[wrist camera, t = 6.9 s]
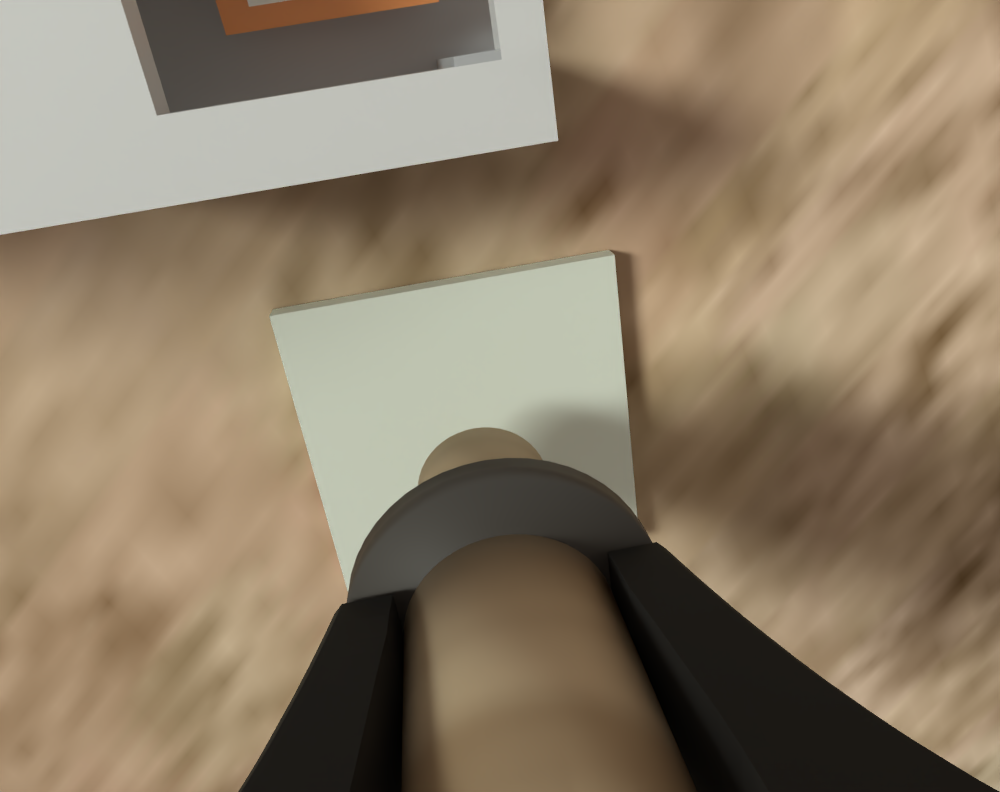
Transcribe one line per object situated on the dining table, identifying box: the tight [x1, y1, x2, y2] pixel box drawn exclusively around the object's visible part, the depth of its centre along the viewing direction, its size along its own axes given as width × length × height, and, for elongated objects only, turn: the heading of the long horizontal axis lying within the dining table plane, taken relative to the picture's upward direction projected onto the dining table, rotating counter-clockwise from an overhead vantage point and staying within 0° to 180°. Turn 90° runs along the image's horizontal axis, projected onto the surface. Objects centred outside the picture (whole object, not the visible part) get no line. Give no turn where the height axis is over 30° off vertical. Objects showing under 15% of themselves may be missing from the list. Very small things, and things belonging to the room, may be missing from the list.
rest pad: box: [269, 250, 637, 590], centre depth 14 cm, size 6×6×1 cm
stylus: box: [347, 427, 697, 792], centre depth 9 cm, size 4×4×9 cm
